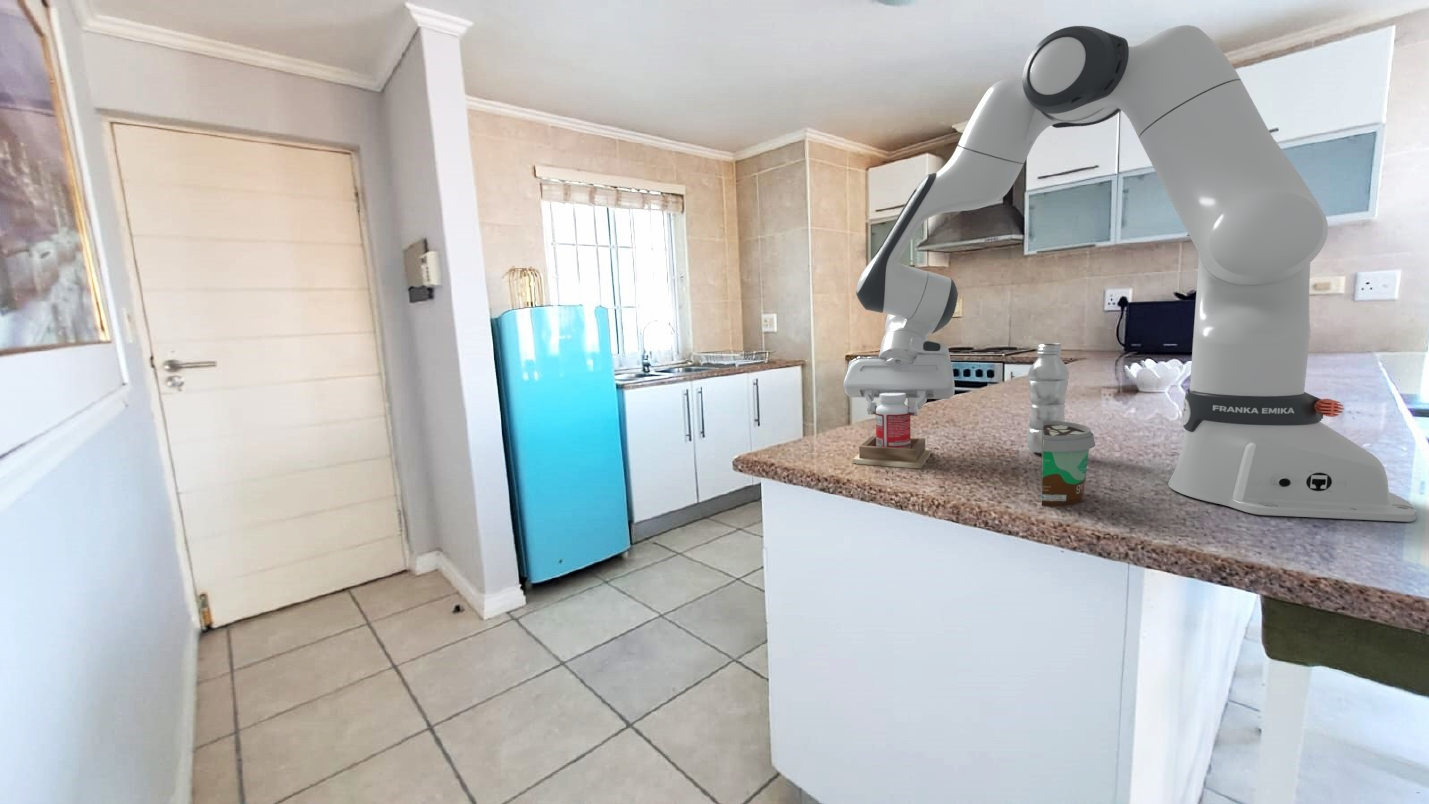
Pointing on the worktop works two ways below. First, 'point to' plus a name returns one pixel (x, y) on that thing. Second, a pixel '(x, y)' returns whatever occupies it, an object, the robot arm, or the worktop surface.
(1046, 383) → the plastic bottle
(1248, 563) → the worktop surface
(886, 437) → the pill bottle
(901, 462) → the brown wooden square tray
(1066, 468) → the food container
